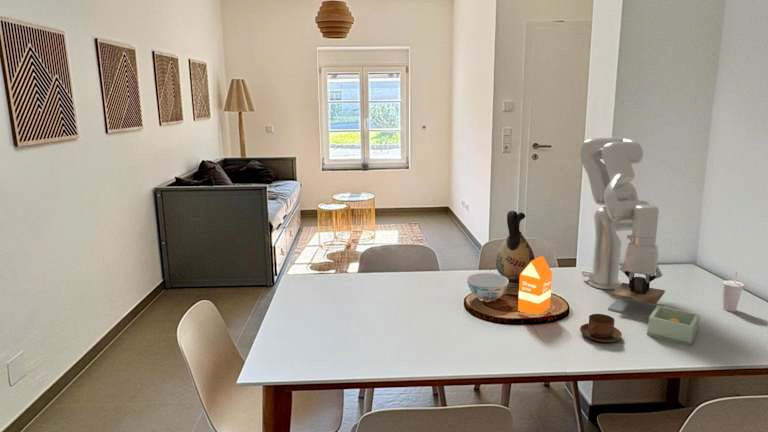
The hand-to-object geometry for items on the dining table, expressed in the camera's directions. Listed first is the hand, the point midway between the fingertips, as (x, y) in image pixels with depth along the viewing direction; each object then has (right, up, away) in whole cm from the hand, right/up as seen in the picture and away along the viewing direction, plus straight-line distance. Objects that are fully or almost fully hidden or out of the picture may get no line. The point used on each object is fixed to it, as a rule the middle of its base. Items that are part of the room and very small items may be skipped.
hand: (638, 290), depth 183 cm
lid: (0, -1, 0) cm, 1 cm away
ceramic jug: (-37, -1, +29) cm, 47 cm away
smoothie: (+32, -7, 0) cm, 32 cm away
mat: (0, -6, +2) cm, 7 cm away
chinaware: (-51, -5, +11) cm, 52 cm away
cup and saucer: (-22, -12, -20) cm, 31 cm away
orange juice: (-37, -8, -2) cm, 38 cm away
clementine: (+2, -8, -19) cm, 21 cm away
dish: (+2, -11, -18) cm, 21 cm away
